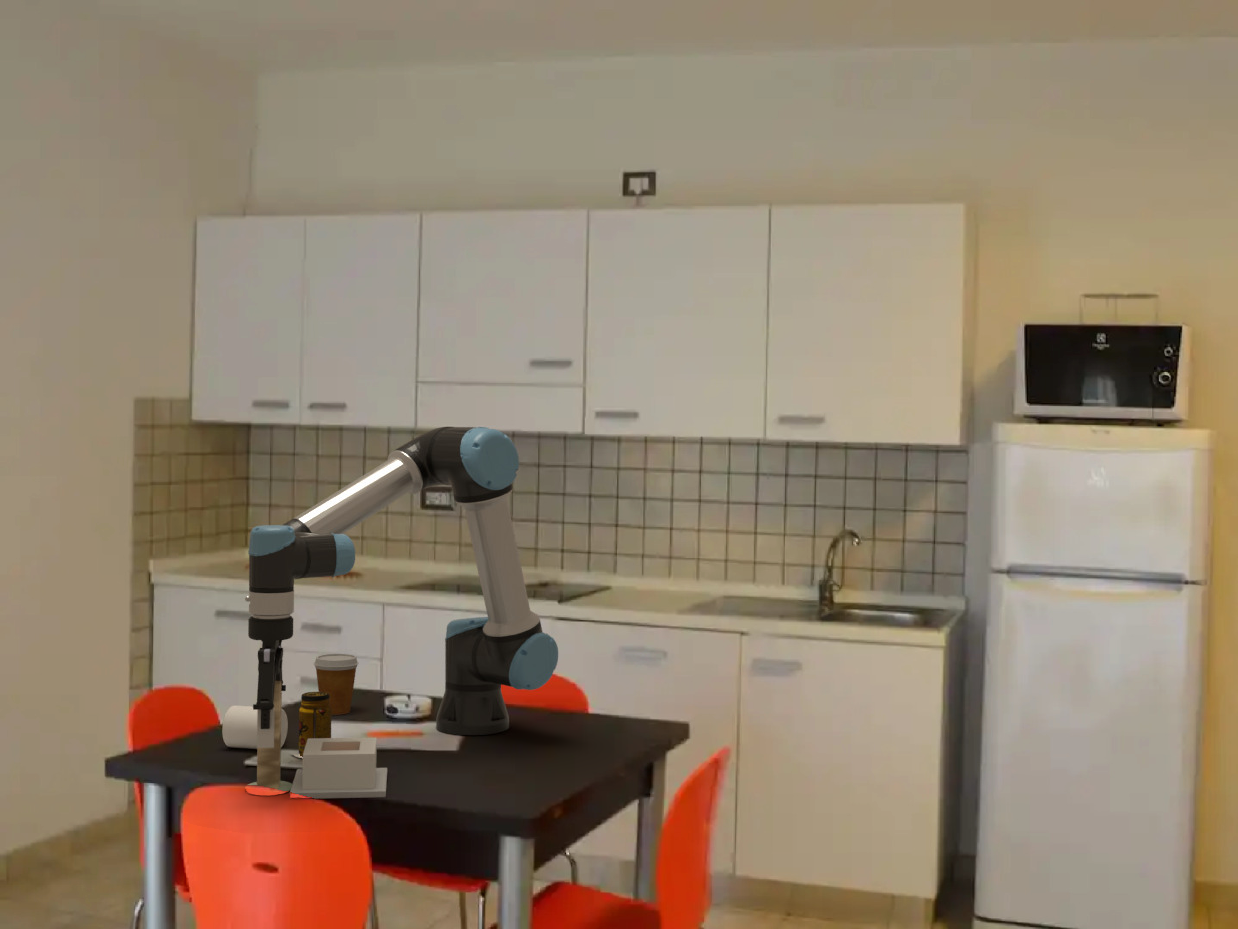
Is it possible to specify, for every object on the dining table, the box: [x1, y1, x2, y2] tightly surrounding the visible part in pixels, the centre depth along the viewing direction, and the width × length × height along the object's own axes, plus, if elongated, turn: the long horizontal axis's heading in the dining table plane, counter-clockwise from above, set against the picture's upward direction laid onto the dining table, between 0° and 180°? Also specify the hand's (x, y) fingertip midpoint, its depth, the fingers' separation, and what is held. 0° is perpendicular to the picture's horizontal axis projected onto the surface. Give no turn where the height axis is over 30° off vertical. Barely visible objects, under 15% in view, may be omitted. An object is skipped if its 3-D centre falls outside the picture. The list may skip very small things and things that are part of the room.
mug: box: [221, 705, 289, 750], centre depth 275 cm, size 12×10×8 cm
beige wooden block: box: [256, 681, 283, 789], centre depth 243 cm, size 4×4×18 cm
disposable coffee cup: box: [313, 653, 359, 716], centre depth 306 cm, size 10×10×12 cm
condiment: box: [298, 691, 332, 757], centre depth 268 cm, size 7×8×12 cm
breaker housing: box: [289, 737, 388, 799], centre depth 247 cm, size 16×16×7 cm
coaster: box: [247, 780, 293, 791], centre depth 243 cm, size 8×8×1 cm
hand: (269, 738), depth 243 cm, fingers open, 13 cm apart
